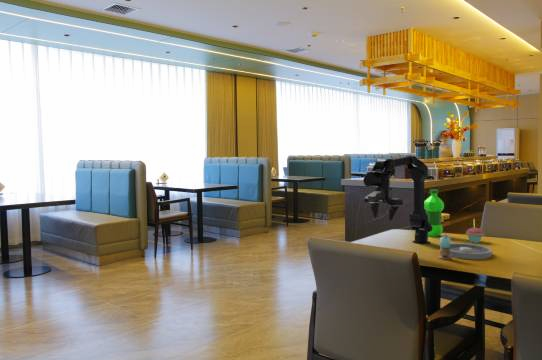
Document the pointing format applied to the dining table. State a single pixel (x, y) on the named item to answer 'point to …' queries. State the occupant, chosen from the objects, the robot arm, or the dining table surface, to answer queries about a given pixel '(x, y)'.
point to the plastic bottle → (434, 213)
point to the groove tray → (469, 251)
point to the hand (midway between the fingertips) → (382, 218)
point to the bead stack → (445, 248)
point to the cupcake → (475, 234)
